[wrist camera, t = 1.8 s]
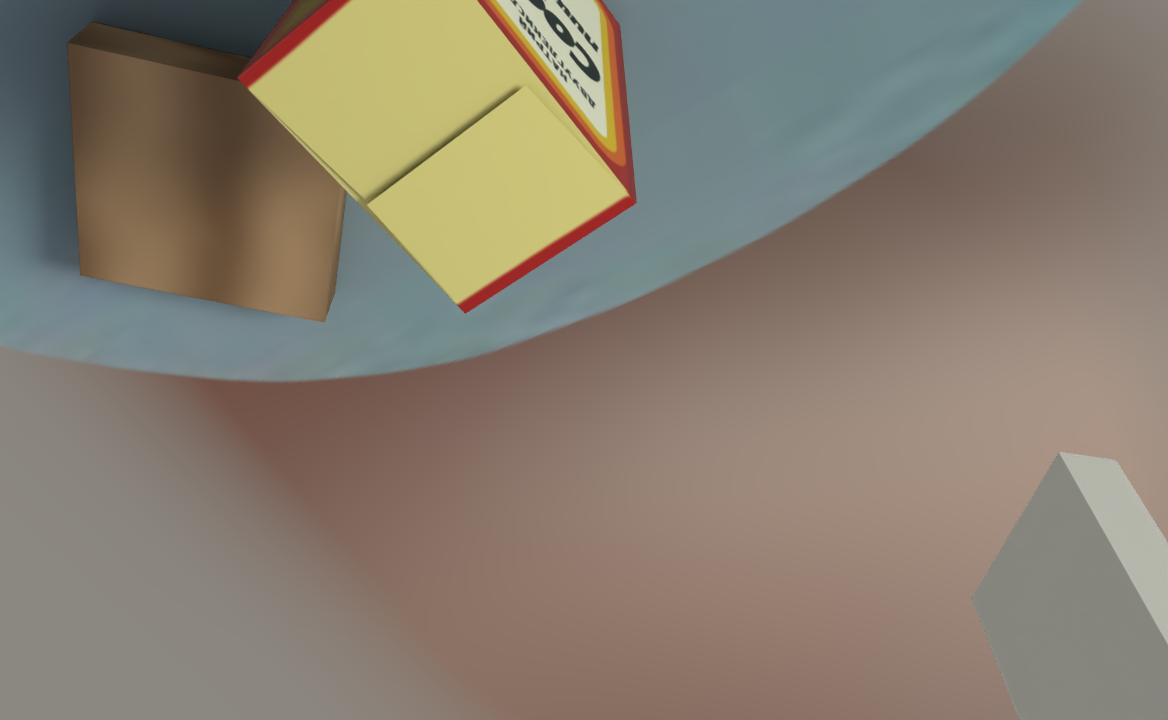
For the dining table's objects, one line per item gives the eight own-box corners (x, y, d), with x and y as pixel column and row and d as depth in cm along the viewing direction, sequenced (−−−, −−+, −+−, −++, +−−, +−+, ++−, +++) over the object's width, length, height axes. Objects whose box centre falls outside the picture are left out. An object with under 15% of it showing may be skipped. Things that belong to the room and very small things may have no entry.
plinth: (101, 247, 49) (80, 275, 47) (91, 21, 42) (67, 42, 40) (334, 293, 50) (324, 322, 48) (359, 82, 44) (348, 105, 42)
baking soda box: (345, -70, 40) (233, 83, 27) (472, -180, 38) (416, -70, 25) (498, 114, 45) (464, 320, 32) (620, 25, 42) (637, 208, 30)
